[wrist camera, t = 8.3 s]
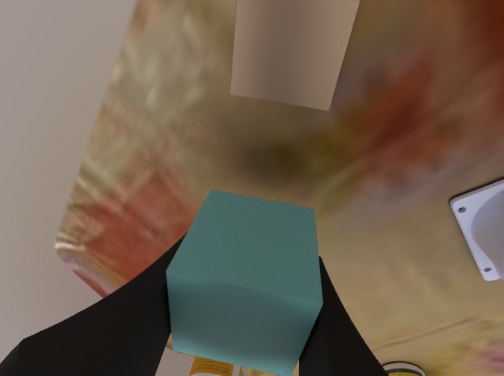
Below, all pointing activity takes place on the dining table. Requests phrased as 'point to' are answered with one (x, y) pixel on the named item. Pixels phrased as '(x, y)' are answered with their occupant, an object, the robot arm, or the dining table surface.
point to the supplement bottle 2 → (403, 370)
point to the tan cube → (290, 49)
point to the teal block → (246, 283)
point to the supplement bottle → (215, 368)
